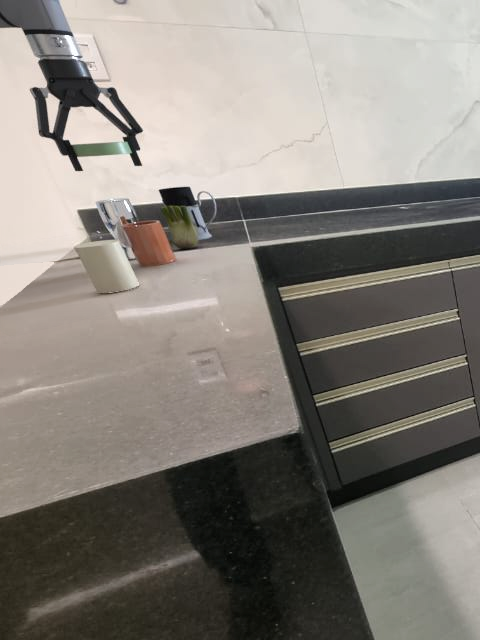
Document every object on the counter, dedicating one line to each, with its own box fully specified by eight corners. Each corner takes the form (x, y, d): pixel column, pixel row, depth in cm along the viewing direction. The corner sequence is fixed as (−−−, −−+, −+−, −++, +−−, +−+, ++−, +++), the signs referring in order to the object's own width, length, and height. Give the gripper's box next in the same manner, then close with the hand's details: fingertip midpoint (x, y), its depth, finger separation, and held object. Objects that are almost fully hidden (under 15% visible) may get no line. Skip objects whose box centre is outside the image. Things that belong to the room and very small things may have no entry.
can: (103, 296, 111) (79, 248, 106) (92, 291, 114) (69, 245, 110) (144, 286, 116) (123, 241, 112) (133, 282, 119) (112, 238, 115)
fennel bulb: (205, 246, 152) (188, 203, 147) (189, 250, 148) (171, 207, 143) (188, 246, 153) (170, 204, 148) (172, 250, 149) (153, 207, 144)
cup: (145, 267, 132) (127, 227, 127) (134, 264, 135) (116, 225, 131) (181, 260, 137) (164, 221, 133) (169, 257, 141) (153, 219, 137)
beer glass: (137, 254, 147) (111, 198, 140) (161, 253, 146) (136, 197, 140) (114, 260, 140) (86, 202, 134) (138, 260, 140) (112, 201, 134)
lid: (81, 157, 116) (75, 144, 115) (68, 156, 121) (62, 145, 120) (138, 153, 123) (133, 141, 122) (123, 152, 128) (119, 141, 127)
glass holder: (189, 236, 168) (168, 187, 161) (236, 233, 169) (218, 184, 162) (170, 242, 160) (148, 191, 153) (219, 239, 161) (199, 188, 155)
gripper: (-13, 55, 103) (47, 174, 113) (132, 60, 120) (174, 163, 130) (-21, 58, 107) (38, 173, 117) (121, 62, 124) (162, 163, 134)
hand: (109, 168), depth 123 cm, fingers closed on lid, 10 cm apart
